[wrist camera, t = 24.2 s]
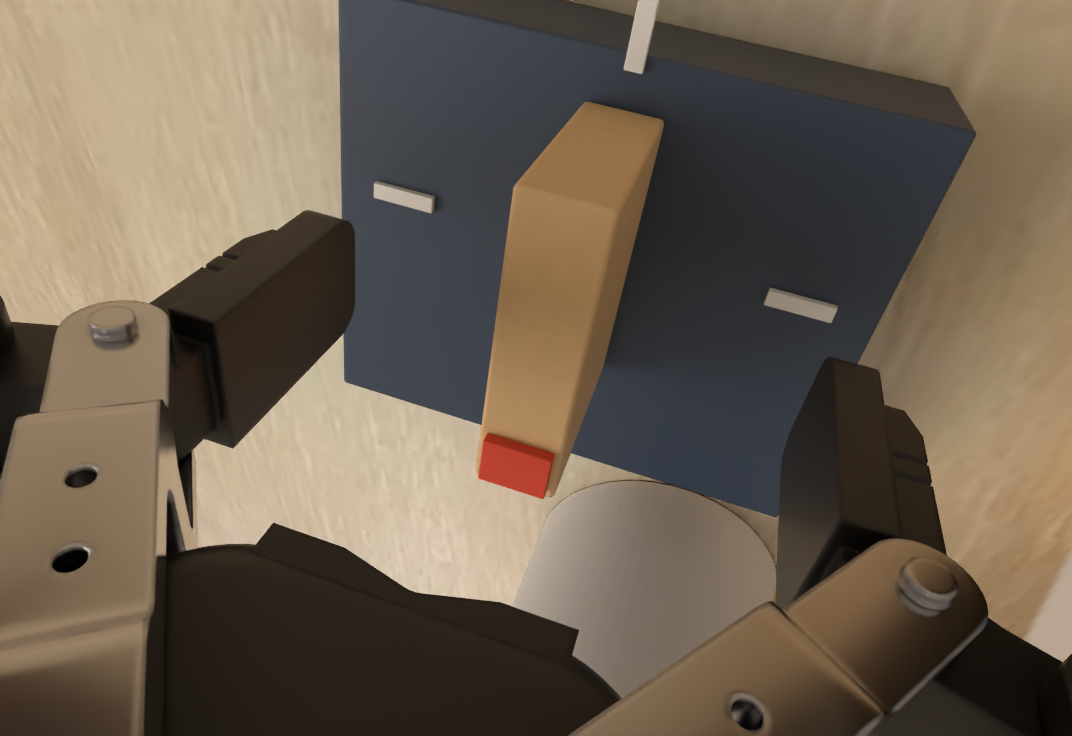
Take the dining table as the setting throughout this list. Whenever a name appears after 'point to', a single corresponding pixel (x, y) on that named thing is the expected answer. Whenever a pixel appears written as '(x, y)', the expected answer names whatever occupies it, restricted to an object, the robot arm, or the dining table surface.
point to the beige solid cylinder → (643, 576)
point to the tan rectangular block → (562, 291)
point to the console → (665, 226)
